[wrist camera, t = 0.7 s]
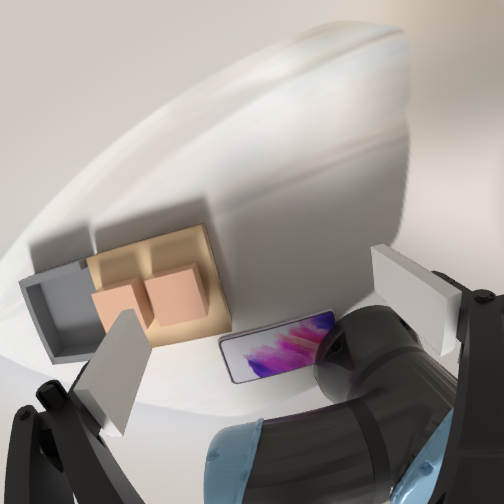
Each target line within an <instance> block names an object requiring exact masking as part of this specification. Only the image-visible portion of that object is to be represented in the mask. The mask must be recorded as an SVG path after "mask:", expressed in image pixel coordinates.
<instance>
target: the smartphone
mask: <svg viewBox="0 0 504 504" xmlns="http://www.w3.org/2000/svg"><path fill="white" fill-rule="evenodd" d="M335 324H336V317H335V312H334V311H333V310H332V309H327V310H323V311H320V312H317V313H313V314H310V315H307V316H303V317H300V318H296V319H293V320H289V321H286V322H282V323H279V324H275V325H271V326H267V327H264V328H260V329H256V330H252V331H248V332H244V333H240V334H236V335H232V336H228V337H224V338H221V339H219V341H218V346H219V349H220V352H221V355H222V357H223V360H224V363H225V366H226V368H227V371H228V374H229V377H230V379H231V381H232V383H234V384H241V383H245V382H250V381H254V380H258V379H262V378H266V377H270V376H274V375H278V374H282V373H286V372H289V371H293V370H296V369H300V368H303V367H307V366H310V365H313V364H314V362H315V356H316V353H317V350H318V348H319V345H320V344H321V342H322V340H323V338H324V337H325V335H326V334H327V333H328V332H329V330H330V329H331V328H332V327H333V326H334V325H335Z"/></svg>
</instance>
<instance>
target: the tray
mask: <svg viewBox="0 0 504 504" xmlns="http://www.w3.org/2000/svg"><path fill="white" fill-rule="evenodd" d="M91 256H93V255H91ZM91 256H88V257H85V258H82V259H79V260H76V261H73V262H69V263H66V264H63V265H60V266H57V267H54V268H51V269H48V270H45V271H42V272H39V273H36V274H34V275H32V276H29V277H27V278H25V279H23V280H21V281H19V285H20V288H21V291H22V294H23V297H24V299H25V302H26V305H27V307H28V310H29V313H30V315H31V318H32V320H33V323H34V325H35V327H36V330H37V332H38V334H39V337H40V339H41V341H42V343H43V346H44V348H45V350H46V352H47V354H48V356H49V358H50V360H51V362H52V364H53V365H54V364H64V363H74V362H82V361H89V360H90V359H92V357H93V355H94V354H95V352H96V350H97V349H98V347H99V345H100V344H101V342H102V341H103V339H104V337H105V336H106V332H105V329H104V327H103V324H102V322H101V319H100V317H99V314H98V312H97V309H96V307H95V304H94V301H93V299H92V296H91V294H92V293H94V292H95V291H96V288H95V285H94V282H93V280H92V277H91V273H90V270H89V267H88V264H87V261H86V258H89V257H91Z"/></svg>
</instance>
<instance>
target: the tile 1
mask: <svg viewBox="0 0 504 504" xmlns="http://www.w3.org/2000/svg"><path fill="white" fill-rule="evenodd" d="M91 296H92V299H93V301H94V304H95V307H96V309H97V312H98V314H99V317H100V319H101V322H102V324H103V327H104V329H105V332H106V334H107V333H108V331H109V330H110V328H111V326H112V325H113V323H114V322H115V320H116V319H117V317H118V316H119V314H120V313H121V311H123V310H127V309H132V308H134V311H135V313H136V315H137V317H138V320H139V322H140V324H141V326H142V328H143V331H144V330H148V328H149V326H150V325H151V323H152V322H153V320H154V316H153V313H152V310H151V307H150V305H149V302H148V299H147V296H146V293H145V290H144V287H143V284H142V281H141V278H140V277H136V278H132V279H128V280H124V281H120V282H116V283H113V284H109V285H105V286H102V287H100V288H99V289H98V290H96V291H95V292H94V293H92V294H91Z"/></svg>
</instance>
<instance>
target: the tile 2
mask: <svg viewBox="0 0 504 504" xmlns="http://www.w3.org/2000/svg"><path fill="white" fill-rule="evenodd" d="M144 282H145V285H146V288H147V291H148V294H149V297H150V300H151V303H152V305H153V308H154V311H155V314H156V317H157V319H158V322H159V325H160V327H164V326H169V325H173V324H178V323H183V322H187V321H192V320H196V319H201V318H205V317H207V316H208V311H209V307H210V306H209V303H208V299H207V296H206V293H205V290H204V286H203V283H202V280H201V276H200V273H199V270H198V266H197V263H196V262H194V263H190V264H186V265H182V266H179V267H175V268H171V269H167V270H163V271H159V272H155V273H152V274H151V275H150V276H149V277H148V278H147V279H146V280H145V281H144Z"/></svg>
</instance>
